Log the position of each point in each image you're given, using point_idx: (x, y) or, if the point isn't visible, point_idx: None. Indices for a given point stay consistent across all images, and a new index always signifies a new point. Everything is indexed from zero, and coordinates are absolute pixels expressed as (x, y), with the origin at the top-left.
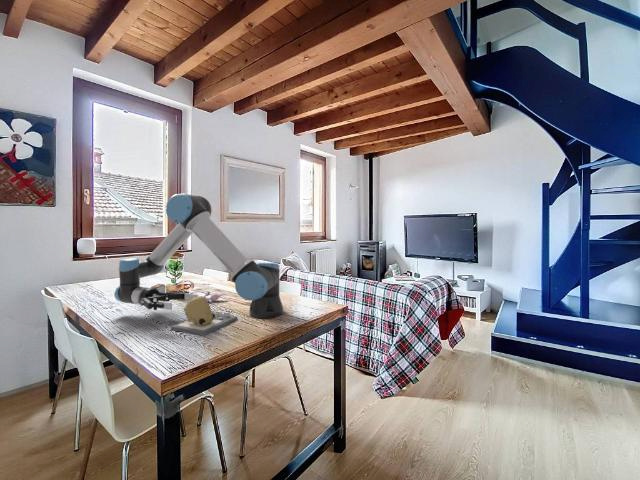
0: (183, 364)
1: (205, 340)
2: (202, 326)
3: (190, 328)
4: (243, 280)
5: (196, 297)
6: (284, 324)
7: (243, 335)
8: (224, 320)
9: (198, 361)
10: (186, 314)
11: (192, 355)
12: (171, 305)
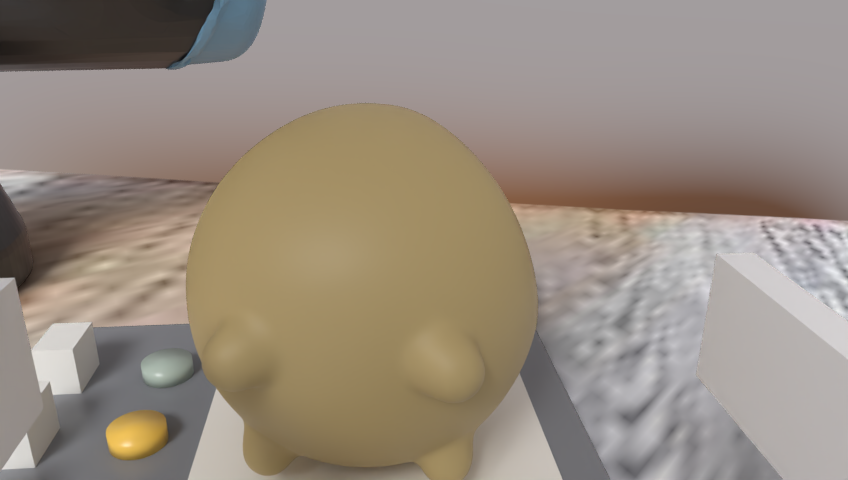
0: (809, 238)
1: (574, 296)
2: None
3: (542, 409)
4: None
5: (402, 115)
6: (148, 198)
7: None
8: None
9: (738, 224)
10: (531, 341)
11: None
12: (718, 304)
